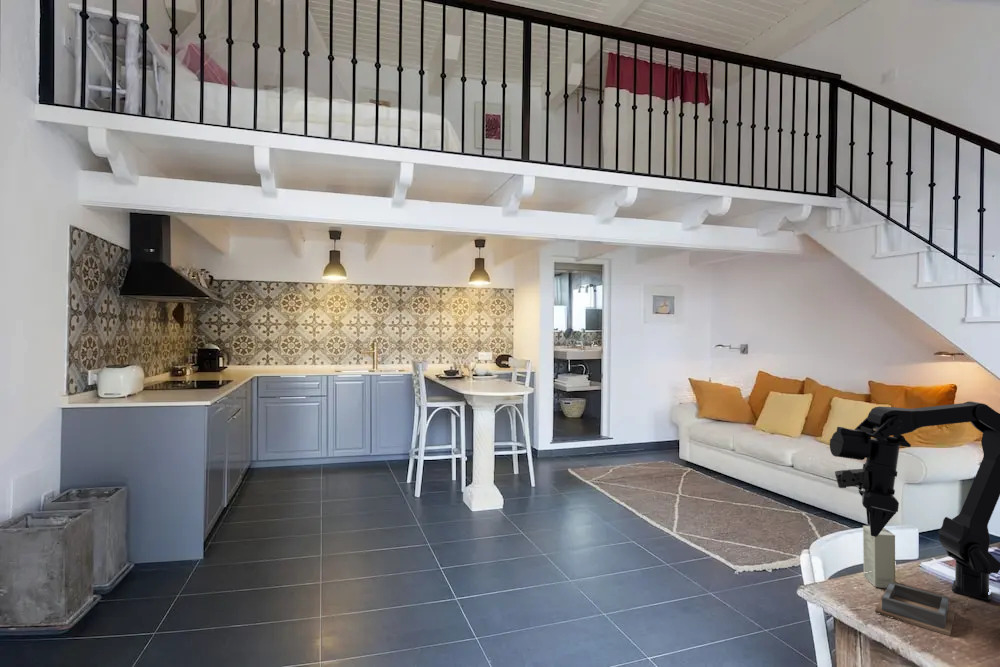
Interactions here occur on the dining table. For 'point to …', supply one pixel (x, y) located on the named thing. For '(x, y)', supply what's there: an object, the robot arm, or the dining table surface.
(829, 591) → the dining table surface
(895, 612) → the box stand
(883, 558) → the skincare box
